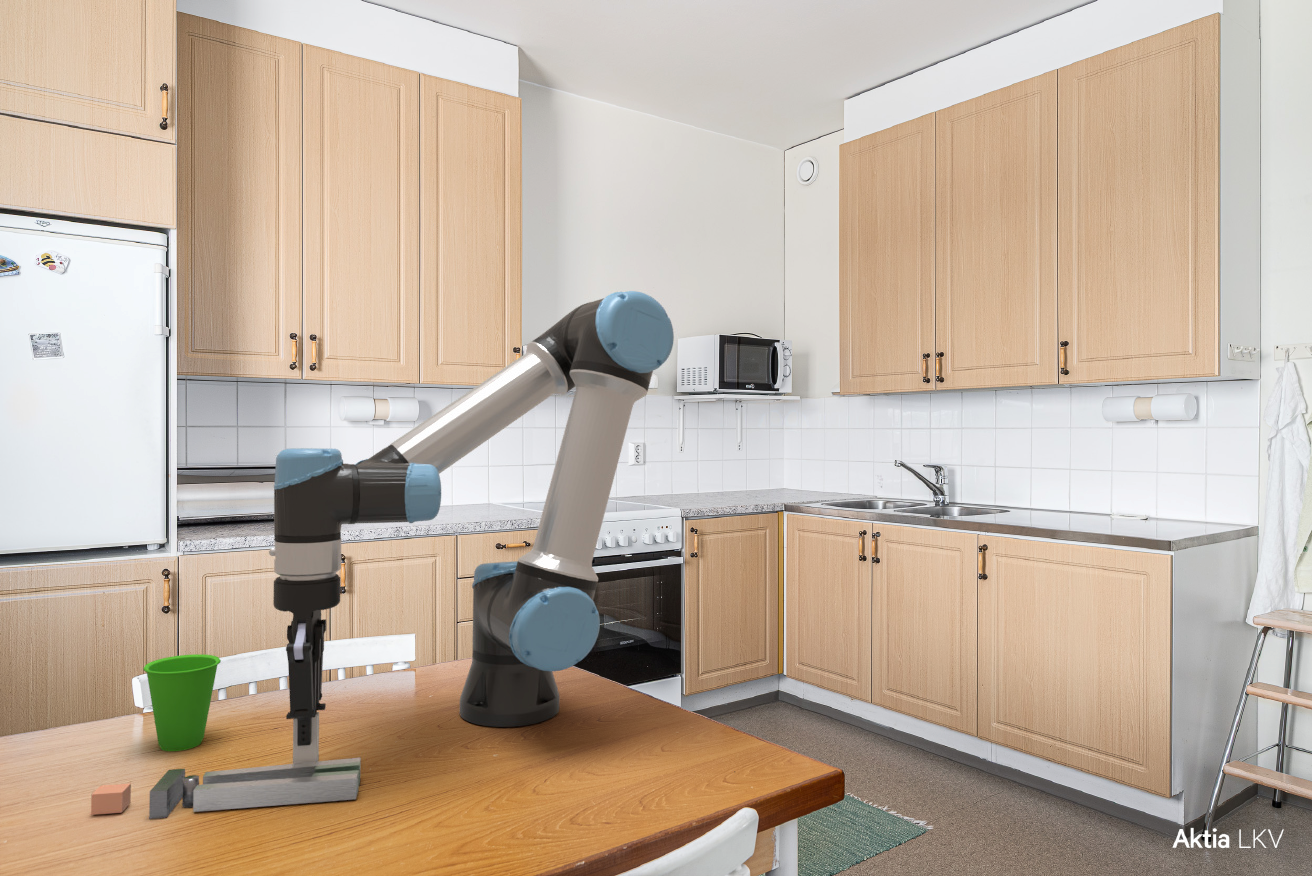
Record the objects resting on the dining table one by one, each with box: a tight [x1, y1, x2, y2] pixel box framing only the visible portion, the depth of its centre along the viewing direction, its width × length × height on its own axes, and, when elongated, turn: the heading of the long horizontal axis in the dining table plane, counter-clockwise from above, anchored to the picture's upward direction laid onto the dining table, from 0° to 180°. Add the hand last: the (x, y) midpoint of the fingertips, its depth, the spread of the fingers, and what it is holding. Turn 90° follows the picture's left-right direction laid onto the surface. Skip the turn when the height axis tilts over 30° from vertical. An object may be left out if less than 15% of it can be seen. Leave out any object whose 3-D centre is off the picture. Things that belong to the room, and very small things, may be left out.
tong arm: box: [202, 757, 362, 786], centre depth 98 cm, size 17×2×2 cm, turn 107°
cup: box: [143, 653, 221, 752], centre depth 111 cm, size 9×9×11 cm
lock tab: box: [90, 783, 132, 816], centre depth 92 cm, size 3×2×2 cm
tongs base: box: [148, 768, 360, 820], centre depth 95 cm, size 21×6×3 cm, turn 103°
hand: (305, 767), depth 101 cm, fingers closed
